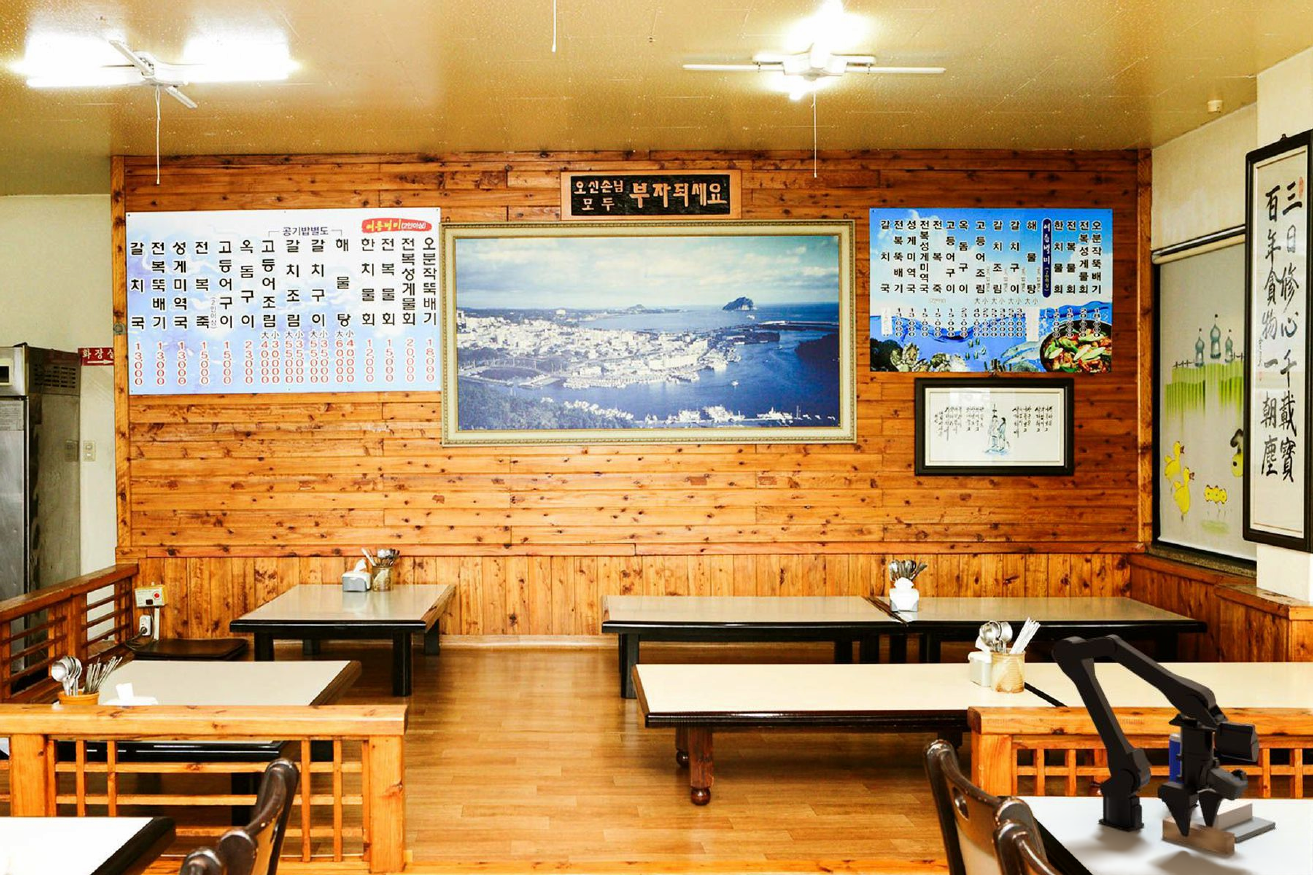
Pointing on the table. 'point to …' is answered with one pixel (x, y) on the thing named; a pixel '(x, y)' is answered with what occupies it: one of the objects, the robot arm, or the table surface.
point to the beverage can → (1174, 757)
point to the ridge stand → (1239, 821)
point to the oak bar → (1201, 836)
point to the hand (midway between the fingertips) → (1197, 831)
